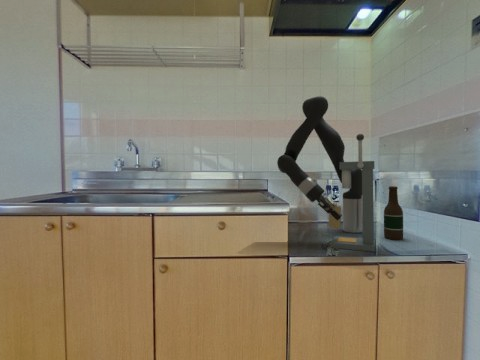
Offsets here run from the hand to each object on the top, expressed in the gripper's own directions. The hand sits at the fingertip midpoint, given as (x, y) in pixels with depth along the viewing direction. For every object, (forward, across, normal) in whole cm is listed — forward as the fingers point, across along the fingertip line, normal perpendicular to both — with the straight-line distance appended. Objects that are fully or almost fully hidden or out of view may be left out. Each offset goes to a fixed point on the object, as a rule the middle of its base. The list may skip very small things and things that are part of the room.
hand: (339, 217), depth 113 cm
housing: (+2, 0, +4) cm, 5 cm away
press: (+12, 0, +4) cm, 13 cm away
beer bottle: (+23, +21, -7) cm, 32 cm away
